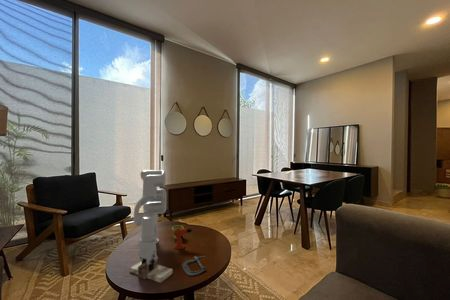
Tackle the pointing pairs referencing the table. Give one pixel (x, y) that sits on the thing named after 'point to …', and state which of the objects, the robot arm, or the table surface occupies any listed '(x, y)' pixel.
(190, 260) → the c clamp
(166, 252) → the table surface
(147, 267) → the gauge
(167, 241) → the table surface
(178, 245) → the toy drill
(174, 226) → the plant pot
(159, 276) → the board
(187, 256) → the table surface
